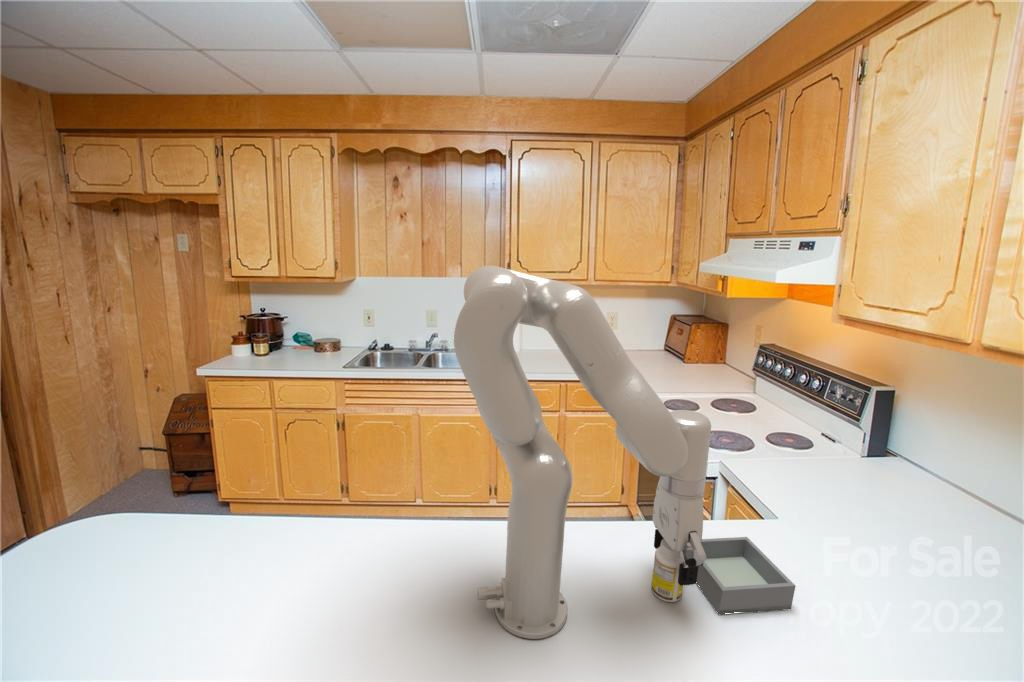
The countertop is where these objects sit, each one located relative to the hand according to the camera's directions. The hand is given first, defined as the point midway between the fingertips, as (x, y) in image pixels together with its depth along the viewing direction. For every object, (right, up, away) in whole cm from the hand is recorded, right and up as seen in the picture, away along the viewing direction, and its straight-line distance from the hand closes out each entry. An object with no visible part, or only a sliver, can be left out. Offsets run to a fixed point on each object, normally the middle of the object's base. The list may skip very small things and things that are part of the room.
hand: (673, 564), depth 86 cm
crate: (+13, -6, +4) cm, 14 cm away
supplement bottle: (-1, -6, +1) cm, 6 cm away
